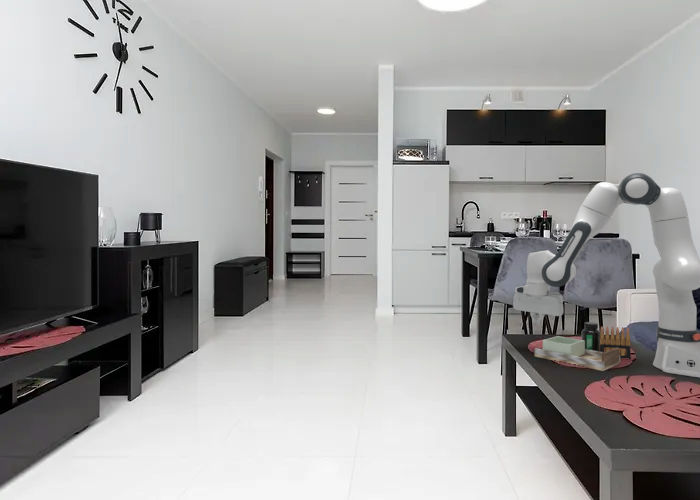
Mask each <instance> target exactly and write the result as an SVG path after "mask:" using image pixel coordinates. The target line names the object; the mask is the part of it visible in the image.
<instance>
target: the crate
mask: <svg viewBox="0 0 700 500" xmlns="http://www.w3.org/2000/svg"><path fill="white" fill-rule="evenodd" d="M542 350H547V351H552V352H557V353H562V354H567V355H572V356H577V357H578V356H581V355H583V354H585V341H584V340H582V339H577V338H571V337H567V336H566V337H565V336H560V335H556V336H553V337H549V338H545V339H543V340H542Z"/></svg>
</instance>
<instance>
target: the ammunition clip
mask: <svg viewBox="0 0 700 500" xmlns="http://www.w3.org/2000/svg"><path fill="white" fill-rule="evenodd" d="M610 328H611V329H609V326H606V328H605V329H604V327H603V325H602V326H600V330H599V331H600V346H599V352H606V351H608V350H611V349H614V348H616V347H617V348H619V355H620V356H621V358H629V359H628V360H631V359H632V356H631V354H632V353H631V351H632V350H631V333H630V332H631V331H630V328H629V327H627V328H626V331H625V328H624V327H621V331H620V329H619V327H618V326H617V327H616V329H614V326H611V327H610ZM604 330H605V331H604ZM620 332H621V333H620Z"/></svg>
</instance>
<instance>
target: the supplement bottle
mask: <svg viewBox="0 0 700 500" xmlns="http://www.w3.org/2000/svg"><path fill="white" fill-rule="evenodd" d="M583 327H584V328H583V329H582V330H581V340H584V341H585V349H588V350H593V351H599V346H600V331H601V330H599V324H598V322H593V321H592V322H591V321H585V322H584V326H583Z"/></svg>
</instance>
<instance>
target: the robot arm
mask: <svg viewBox="0 0 700 500" xmlns="http://www.w3.org/2000/svg"><path fill="white" fill-rule="evenodd" d="M621 204H629V205H633V206H638V205H643V206H645V207H646V208H647V209H648V213H649V217H650V224H651V231H652V237H653V243H654V246H655V247H656V249H657V251H658V254H659V258H660V260H658V261H657V262H656V263H655V264H654V265H653V267H652V268H653V269H652V274H653V277H654V281H655V283H654V284H655V291H656V295H657V302H658V326H657V328H656V341H657V347H656V351H655V352H656V353H655V357H654V359H653V363H652V366H653V367H655V368H657V369H659V370H662V372H664V373H668V374H675V375H679V376H688V377H692V378H693V377H694V378H700V330H698V329H697V309H698V307H697V304H696V303H695V300H694V296H693V291H695V290H698V289H700V257H699V253H698V252H697V249H696V247H695V243H694V240H693V238H692V237H693V236H692V231H691V225H690V219H689V213H688V210H687V209H688V208H687V205H686V202H685V199H684V197H683V193H682V192H681V191H680V190H679V189H677V188H675V187H661V186H659V184H657V183H656V182H655V180H654V179H653V178H652V177H650V176H649V175H647V174H645V173H643V172H642V173H641V172H635V173H631V174H628V175H627V176H626V177H624V178H623V179H622V180H621V181H620V182H619V183H618V184H616V183H611V182H608V181H601V182H599V183H597V184H595V185H594V186H593V188H592V189H591V190H590V191H589V193H588V194H587V196H586V197H585V198H584V200H583V201H582V204H581V205H580V207H579V209H578V211H577V214H576V215H575V218H574V221H573V223H572V226H571V228H570V230H569V232H568V235H566V238H565V240H564V242H563V243H562V244H561V246H560V248H559V250H558V252H557V253H556V254H554V253H552V252H551V251H550V249H549V250H548V249H540V250H539V249H538V250H533V251H531V252H529V253H528V256H527V260H526V273H527V277H526V284H524V285H521V286H517V287H515V288H514V292H515V293H514V295H513V302H512V307H513V309H514V310H516V311H522V312H529V314H530V317H531V319H532V324H535V325H542V323H543V322H542V321H543V319H544V317H545V315H548V316H555V317H560V316H562V315H564V304H563V302H564V296H563V295H562V294H561V293H560V292H558V291H552V290H551V287H554V288H560V287H563V286H565V285H566V284H567V283H569V282H571V281H572V280H573V279H575V277H576V275H577V271H578V270H577V267H576V264H575V263H574V261H575V260H576V259H577V256H578V255H579V254H580V251H581V250H582V248H583V246H585V244H586V243H587V242H588V241H589V240H590V239H592V238H593V237H595V236H596V235H598V234H600V232H602V230H603V229H604V228H605V227H606V225H608V223H609V221H610V220H611V218H612V216H613V214H614V212H615V211H616V210H617V208H618V207H619V206H620V205H621ZM537 314H538V318H537V317H536V315H537Z"/></svg>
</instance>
